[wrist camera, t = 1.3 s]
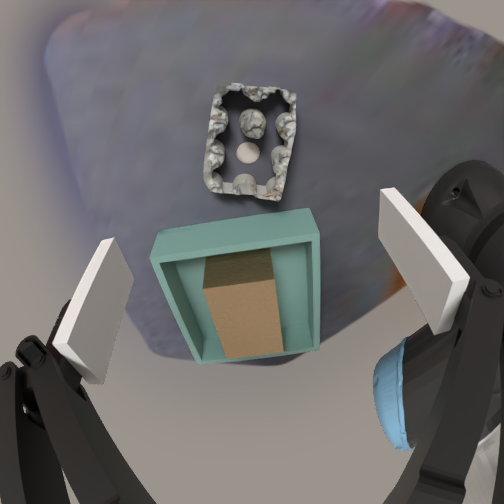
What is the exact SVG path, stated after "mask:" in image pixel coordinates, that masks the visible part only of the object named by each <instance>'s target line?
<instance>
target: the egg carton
mask: <svg viewBox="0 0 504 504" xmlns="http://www.w3.org/2000/svg"><path fill="white" fill-rule="evenodd" d="M229 90H232V91H240V90H242V91H243V93H244V95H245V96H247V97H249V98H250V99H252V100H253V101H255V102H260V101H261V100H262V99H266V98H267V97H268V96H269V94H270V93H276V90H280V93H281V95H282V97H283V98H284V99H285V101H286V102H288V103H289V104H290V108H289V112H285V113H282V114H280V115H279V116H278V117H277V119H276V122H275V126H276V129H277V132H278V133H279V135H280V136H281V137H282V138H283V139H284V144H283V145H280V146H277V147H276V148H274V149H273V151H272V152H271V161H272V165H273V166H272V168H273V171H274V173H275V174H276V177H273V178H271V179H270V180H269V181H268V182H267V184H266V186H261V185H256V182H255V179H254V178H253V177H252V176H251V175H249V174H241V175H238V176H237V177H236V178H235V179H234V181H233V183H226V182H223V180H222V177H221V176H220V175H219V174H218V173H216V172H213V171H212V170H214V169H215V168H218V167H219V166H221V165H222V163H223V161H224V158H225V148H224V145H223V143H222V142H220V141H219V140H216V139H214V138H216V136H217V134H219V133H222V132H223V131H225V128H226V126H227V124H228V113H227V111H226V109H225V108H224V107H222V106H220V105H221V104H222V99H221V98H222V96H224V95H225V94H227V93H228V92H229ZM239 125H240V128H241V130H242V132H243V134H244V135H245V136H247V137H249V138H255V139H259V138H261V137H262V136H263V135H264V130H265V127H266V119H265V117H264V116H263V114H262V112H261V111H260V110H258V109H256V108H249V109H246V110H245V111H243V112H242V113H241V115H240V120H239ZM295 132H296V92H291V91H288V90H285V89H280V88H276V87H269V88H267V87H255V86H243V84H240V83H232V84H228V85H220V86H218V87H217V88H216V92H215V95H214V99H213V104H212V110H211V116H210V122H209V130H208V135H207V144H206V152H205V158H204V172H203V174H204V181H205V183H206V185H207V187H208V188H209V190H210V191H211V192H217V193H221V194H223V193H230V194H235V195H241V194H247V195H254V196H255V197H257V198H261V199H267V200H274V201H276V202H279V201H280V200H281V196H282V193H283V188H284V184H285V180H286V175H287V167H288V163H289V160H290V156H291V149H292V145H293V141H294V137H295ZM259 152H260V151H259V148H258V146H257V145H256V144H254V143H252V142H245V143H242V144H241V145H240V146H239V147H238V149H237V152H236V153H237V158H238V159H239V160H240V161H241V162H242V163H245V164H250V163H253V162H255V161H256V160H257V159H258V157H259V155H260V153H259Z"/></svg>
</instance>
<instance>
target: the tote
mask: <svg viewBox="0 0 504 504" xmlns="http://www.w3.org/2000/svg"><path fill="white" fill-rule="evenodd" d="M267 247H270V253H271V259H272V266H273V272H274V279H275V286H276V294H277V302H278V310H279V318H280V326H281V334H282V342H283V350H284V352H281V353H274V354H267V355H259V356H250V357H241V358H232V359H227V358H226V355H225V352H224V349H223V347H222V344H221V341H220V338H219V336H218V333H217V330H216V327H215V324H214V321H213V319H212V316H211V313H210V310H209V307H208V304H207V301H206V298H205V295H204V292H203V289H202V288H203V279H204V270H205V261H206V256H211V255H218V254H225V253H232V252H239V251H246V250H253V249H260V248H267ZM149 258H150V261H151V263H152V266H153V268H154V270H155V273H156V275H157V278H158V280H159V282H160V285H161V287H162V289H163V292H164V294H165V296H166V299H167V301H168V303H169V305H170V308H171V310H172V312H173V314H174V316H175V319H176V321H177V323H178V325H179V327H180V329H181V331H182V334H183V336H184V338H185V340H186V342H187V344H188V346H189V348H190V350H191V352H192V354H193V356H194V358H195V360H196V362H197V364H212V363H224V362H234V361H243V360H252V359H260V358H268V357H276V356H283V355H290V354H297V353H303V352H309V351H316V350H319V347H320V233H319V230H318V228H317V225H316V223H315V220H314V218H313V216H312V213H311V211H310V209H309V208H303V209H296V210H289V211H282V212H274V213H267V214H261V215H254V216H247V217H240V218H234V219H227V220H221V221H214V222H208V223H202V224H196V225H190V226H184V227H178V228H172V229H166V230H160V231H159V232H158V235H157V238H156V240H155V243H154V246H153V249H152V252H151V255H150V257H149Z"/></svg>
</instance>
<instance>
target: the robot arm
mask: <svg viewBox="0 0 504 504" xmlns="http://www.w3.org/2000/svg"><path fill="white" fill-rule="evenodd" d="M378 238H379V239H380V241H381V242H382V244H383V246H384V247H385V249H386V250H387V252H388V254H389V255H390V257H391V259H392V260H393V262H394V264H395V265H396V267H397V269H398V270H399V272H400V274H401V275H402V277H403V279H404V280H405V282H406V284H407V286H408V287H409V289H410V291H411V293H412V294H413V296H414V298H415V299H416V301H417V303H418V305H419V307H420V309H421V311H422V313H423V314H424V316H425V318H426V320H427V322H428V323H427V324H426V325H425V326H423V327H422V328H420V329H419V330H418V331H416V332H415V333H414V334H412V335H411V336H409V337H406V338H404V340H402V342H401V343H400V344H399V345H397V346H396V347H395V348H393V349H392V350H391V351H390V352H388V353H387V354H385V355H384V356H383V357H382V358H381V359H380V360H379V361H378V363H377V365H376V367H375V370H374V375H373V395H374V401H375V406H376V411H377V414H378V418H379V421H380V424H381V426H382V428H383V431H384V433H385V435H386V437H387V439H388V440H389V441H390V443H391V444H392V445H393V446H395V447H396V449H398V450H399V451H406V450H409V451H410V450H412V449H413V448H414V447H415V449H414V451H413V453H412V455H411V458H410V460H409V461H408V463H407V465H406V468H405V470H404V471H403V473H402V475H401V477H400V479H399V481H398V482H397V484H396V486H395V487H394V489H393V490H392V492H391V493H390V494H389V496H388V497H387V498H386V500H385V501H384V503H383V504H504V175H503V174H502V173H501V172H500V171H498V170H497V169H495V168H494V167H493V166H491V165H490V164H488V163H486V162H483V161H478V160H472V161H467V162H464V163H461V164H459V165H457V166H455V167H454V168H452V169H451V170H449V171H448V172H447V173H446V174H445V175H444V176H443V177H442V178H441V179H440V180H439V181H438V182H437V184H436V185H435V186H434V188H433V189H432V191H431V193H430V194H429V196H428V198H427V200H426V203H425V205H424V208H423V211H422V215H421V216H420V215H419V214H418V213H417V212H416V210H415V209H414V208H413V207H412V206H411V205H410V204H409V203H408V202H407V201H406V200H405V198H404V197H403V196H402V195H401V194H400V193H399V192H398V191H397V190H396V189H395V188H387V189H380V210H379V229H378ZM133 282H134V277H133V275H132V273H131V271H130V269H129V267H128V265H127V263H126V261H125V259H124V257H123V255H122V253H121V251H120V249H119V247H118V245H117V242H116V240H115V238H110V239H106V240H102V241H101V243H100V245H99V246H98V248H97V250H96V252H95V254H94V256H93V258H92V260H91V261H90V263H89V265H88V267H87V270H86V271H85V273H84V275H83V277H82V279H81V281H80V283H79V285H78V287H77V290H76V291H75V293H74V296H73V298H72V299H71V300H69V301H68V302H67V303H66V304H65V305H64V307H63V308H62V310H61V312H60V314H59V318H58V319H57V321H56V323H55V326H54V327H53V330H52V332H51V334H50V337H49V339H48V341H47V344H46V346H45V345H44V344H43V343H42V342H41V341H40V340H39V339H38V337H37V336H34V335H31V336H28V337H26V338H25V339H24V340H22V341H21V342H20V344H19V345H18V347H17V349H16V358H18V359H19V361H20V362H21V363H22V364H23V365H24V366H23V367H20V368H18V367H17V366H16V365H15V364H14V363H13V362H10V361H9V362H6V363H5V364H3V365H2V366H1V367H0V497H1V503H2V504H70V500H69V497H68V493H67V489H66V485H65V481H64V477H63V472H62V469H63V471H64V473H65V475H66V477H67V480H68V482H69V484H70V486H71V488H72V490H73V492H74V493H75V496H76V497H77V499H78V501H79V503H80V504H156V502H155V501H154V500H153V499H152V497H151V496H150V495H149V493H148V492H147V491H146V489H145V488H144V487H143V485H142V484H141V482H140V481H139V480H138V478H137V477H136V475H135V474H134V472H133V471H132V470H131V468H130V467H129V465H128V464H127V462H126V461H125V459H124V458H123V456H122V454H121V453H120V451H119V450H118V448H117V446H116V445H115V443H114V442H113V440H112V438H111V437H110V435H109V433H108V432H107V430H106V428H105V426H104V424H103V423H102V421H101V419H100V417H99V416H98V414H97V412H96V410H95V408H94V406H93V404H92V402H91V401H90V399H89V397H88V395H87V393H86V391H85V389H84V387H83V386H82V385H81V384H80V381H81V378H82V377H83V378H84V379H85V380H86V381H87V382H88V383H89V384H104V381H105V377H106V373H107V369H108V365H109V361H110V358H111V354H112V351H113V347H114V343H115V340H116V336H117V333H118V329H119V326H120V322H121V319H122V316H123V313H124V310H125V306H126V303H127V300H128V297H129V294H130V291H131V288H132V285H133ZM23 406H24V407H25V408H26V413H24V410H23ZM61 467H62V468H61Z"/></svg>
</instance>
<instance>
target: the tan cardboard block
mask: <svg viewBox="0 0 504 504" xmlns="http://www.w3.org/2000/svg"><path fill="white" fill-rule="evenodd" d="M202 289H203V292H204V295H205V298H206V301H207V304H208V307H209V310H210V313H211V316H212V319H213V321H214V324H215V327H216V330H217V333H218V336H219V338H220V341H221V344H222V347H223V349H224V352H225V355H226V358H227V359H232V358H241V357H250V356H259V355H267V354H274V353H281V352H284V350H283V342H282V334H281V326H280V318H279V310H278V302H277V294H276V286H275V279H274V272H273V266H272V259H271V253H270V247H267V248H260V249H253V250H246V251H239V252H232V253H225V254H218V255H211V256H206V261H205V270H204V279H203V288H202Z"/></svg>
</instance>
